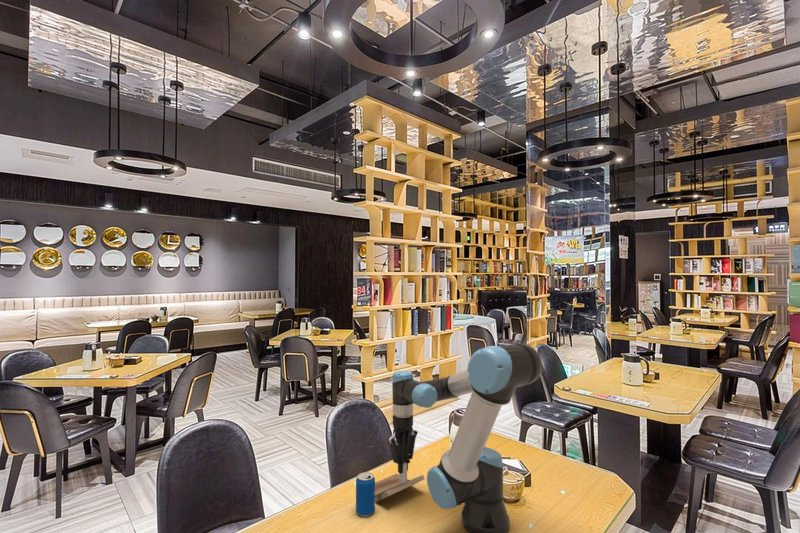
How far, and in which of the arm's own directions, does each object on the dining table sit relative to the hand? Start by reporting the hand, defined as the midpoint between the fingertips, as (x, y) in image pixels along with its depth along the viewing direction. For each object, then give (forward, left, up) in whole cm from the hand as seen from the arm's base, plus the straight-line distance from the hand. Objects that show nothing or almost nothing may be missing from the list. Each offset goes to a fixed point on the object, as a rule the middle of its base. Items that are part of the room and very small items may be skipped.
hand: (403, 481), depth 141 cm
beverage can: (+2, +15, -7) cm, 17 cm away
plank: (+1, 0, -4) cm, 4 cm away
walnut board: (+10, 0, -6) cm, 12 cm away
